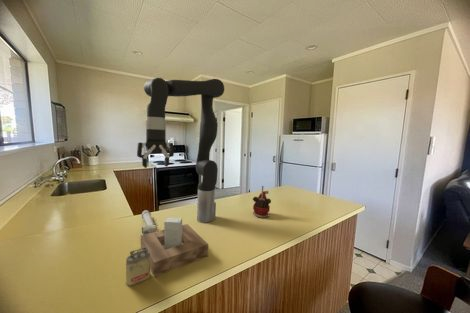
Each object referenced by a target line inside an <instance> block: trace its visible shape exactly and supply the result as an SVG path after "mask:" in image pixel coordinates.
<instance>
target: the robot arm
mask: <svg viewBox="0 0 470 313" xmlns="http://www.w3.org/2000/svg"><path fill="white" fill-rule="evenodd" d="M143 91H144V92H145V94H146V95H147V96H148V97H150V101H149V102H148V104H147V105H146V106H147V107H146V122H145V123H146V124H145V125H146V126H145V127H146V128H145V130H146V132H145V134H146V135H145V136H146V138H145V139H146V141H145V142H140V141H139V142H137V149H136V151H137V152H136V153H137V154H136V157H138V158H140V159H141V164H142V167H143V168H144V169H145V168H146V169H147V168H148V159H147V158H148V156H149V155H151V153H152V154H157V153H159V154H162V155H163V156H164V167H166V168H167V167H169V165H170V158H172V157H174V153H175V152H174V143H173V142H166V139H167V138H166V137H167V136H166V135H167V134H166V130H167V125H166V124H167V123H166V107H167V106H166V105H167V102H168V98H169V97H190V96H191V97H193V96H198V95H199V96H200V102H201V105H200V106H201V108H200V109H201V110H200V123H199V125H200V126H199V138H198V151H197V157H196V161H195V163H196V164H195V171H196V173H197V174H198V175H200V176H202V181H201V182H199V183H198V185H197V203H196V204H197V210H196V220H197V221H198V222H200V223H211V222H213V221H214V220H216V213H217V212H216V210H217V208H216V206H217V202H216V201H215V198H216V197H215V196H216V195H215V194H216V185H217V182H218V172H219V171H218V169H219V168H218V164H217V162H216V161H214V160H211V159H210V157H211V156H210V154H211V149H212V147H213V145H214V144H215V141H216V138H217V136H218V127H219V126H218V120H217V117H216V114H215V111H214V107H213V103H214V99H215V98H216V99H217V98H220V97H221V96H223V94H224V93H225V85H224V83H223V81H222V80H220V79H219V78H212V79H207V80H189V79H188V80H187V79H186V80H185V79H170V80H165V79H164V78H162V77H155V78H152V79H148V80H147V81H145V83H144V84H143ZM145 147H146V148H147V149H146V150H145V152H144V153H143V149H144V148H145ZM166 147H167V148H168V151H167V150H166V149H165V148H166Z"/></svg>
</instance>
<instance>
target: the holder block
mask: <svg viewBox="0 0 470 313" xmlns="http://www.w3.org/2000/svg"><path fill="white" fill-rule="evenodd" d="M182 243H183V245H179V246H176V247H173V248H170V249H167V250H164V248H163V246H162V245H164V229H162V230H157V232H153V233H149V234H145V235H143V234H141V235H140V249H142V248H144V247H145V246H146V249H148V251H149V252H150V273H151V275H152V276H153V277H154V278H155V277H156V276H160V275H163V274H165V273H168V272H170V271H174V270H176V269H178V268H181V267H183V266H186V265H188V264H192V263H194V262H197V261H200V260H202V259H204V258H208V257H209V243H208V242H207V241H206V240H204V238H203V237H201V235H200V234H198V232H197V231H195V230H194V229H193V228H192V227H191V226H190V225H189V224H187V223H186V224H182ZM142 250H144V249H142ZM142 250H141V251H142Z"/></svg>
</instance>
